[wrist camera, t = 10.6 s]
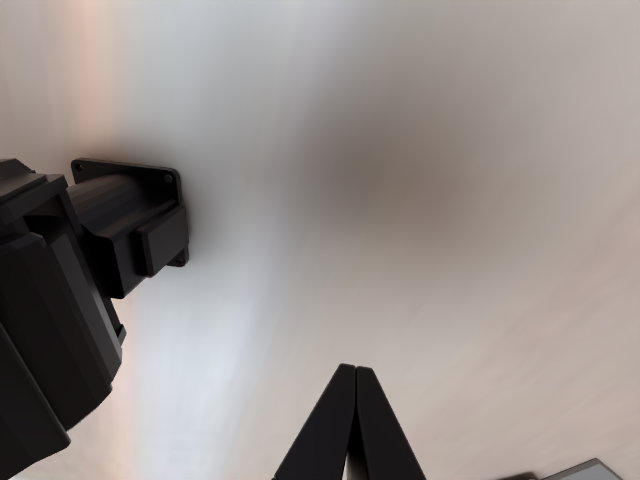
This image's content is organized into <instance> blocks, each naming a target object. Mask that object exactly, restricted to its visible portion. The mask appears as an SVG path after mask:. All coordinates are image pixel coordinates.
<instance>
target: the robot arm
mask: <svg viewBox="0 0 640 480" xmlns="http://www.w3.org/2000/svg"><path fill="white" fill-rule="evenodd" d="M80 165H81V166H82V167H83V169H82V168H81V167H80ZM71 168H72V172H73V176H74V180H75V184H76V185H73V186H71V187H68V184H67V182H66V179H65V177H64V175H63V174H53V175H46V174H36V172H35V170H31V169H29V168H28V167H27V166H25V165H24V164H23V163H21V162H20V161H19V160H17V159H16V158H15V159H1V160H0V480H8V479H10V478H11V477H13V476H15V475H16V474H18V473H19V472H21V471H23V470H24V469H26V468H27V467H29V466H30V465H32V464H34V463H35V462H38V461H40V460H42V459H44V458H46V457H48V456H50V455H53V454H55V453H57V452H59V451H61V450H63V449H65V448H67V447H68V446H69V444H70V443H71V440H70V438H69V436H68V434H67V433H66V432H67V431H69V430H70V429H72V428H73V427H74V426H76V425H77V424H78V423H79V422H81V421H82V420H83V419H84V418H85V417H87V416H88V415H89V414H90V413H91V412H93V411H94V410H95V409H96V408H97V407H98V406H99V405H100V404H101V403H102V402H103V401H104V399H105V398H106V397H107V396H108V395H109V394H110V393H111V391H112V385H111V382H112V381H113V379H114V377H115V375H116V373H117V371H118V369H119V367H120V365H121V363H122V348H121V346H122V343H123V341H124V339H125V336H126V330H125V328H124V325H123V324H120V321H119V319H118V316H117V314H116V311H115V309H114V306H113V304H112V302H111V299H110V298H115V299H123V298H124V297H125V296H126V295H128V294H129V293H130V292H131V291H132V290H133V289H134V288H135V287H136V286H137V285H138V284H139V283H141V282H142V281H143V280H144V279H145V278H146V277H147V278H152V277H153V276H154V275H156V274H157V273H158V272H159V271H160V270H161V269H162V268H163V267H164V266H165V265H167V266H174V267H183V266H185V265H186V263H187V262H188V259H189V258H188V249H187V244H188V243H189V239H188V229H187V220H186V210H185V207H184V205H183V203H182V194H181V184H180V177H179V174H178V173H177V171H175V170H174V169H171V168H163V167H154V166H146V165H138V164H129V163H121V162H112V161H104V160H95V159H87V158H78V159H75V160H73V161H72V162H71ZM168 175H170V176H171V177H172V181H171V180H169V179H168ZM67 187H68V188H67ZM178 257H179V258H180V259H181V260H182V261H180V260H179V259H178ZM346 456H347V480H427V479H426V477H425V475H424V473H423V471H422V469H421V467H420V465H419V463H418V461H417V459H416V457H415V455H414V453H413V451H412V449H411V447H410V445H409V443H408V440H407V438H406V436H405V434H404V432H403V430H402V428H401V426H400V424H399V422H398V420H397V418H396V416H395V414H394V412H393V410H392V408H391V406H390V404H389V401H388V399H387V397H386V395H385V393H384V391H383V389H382V387H381V385H380V383H379V381H378V379H377V377H376V375H375V373H374V371H373V369H372V368H369V367H362V366H357V367H355V366H354V365H350V364H344V363H341V364H340V365H339V366H338V368H337V370H336V371H335V373H334V375H333V376H332V378H331V380H330V381H329V383H328V385H327V387H326V388H325V390H324V392H323V393H322V395H321V397H320V398H319V400H318V402H317V403H316V405H315V407H314V409H313V410H312V412H311V414H310V415H309V417H308V419H307V420H306V422H305V424H304V425H303V427H302V429H301V431H300V432H299V434H298V436H297V437H296V439H295V441H294V442H293V444H292V446H291V448H290V449H289V451H288V453H287V454H286V456H285V458H284V459H283V461H282V463H281V464H280V466H279V468H278V470H277V471H276V473H275V475H274V478H272V479H271V480H342V477H343V471H344V466H345V461H346Z"/></svg>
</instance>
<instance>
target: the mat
mask: <svg viewBox="0 0 640 480" xmlns="http://www.w3.org/2000/svg"><path fill="white" fill-rule="evenodd" d="M543 480H622V479H621V478H620V477H619V476H617V475H616V474H615V473H614V472H613V471H611V470H610V469H609V468H608V467H606V466H605V465H604V464H603V463H601V462H600V461H599V460H598V459H597V458H596V459H593V460H591V461H588V462H586V463H583V464H581V465H578V466H576V467H573V468H571V469H568V470H566V471H563V472H561V473H558V474H556V475H553V476H551V477H548V478H546V479H543Z"/></svg>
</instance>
